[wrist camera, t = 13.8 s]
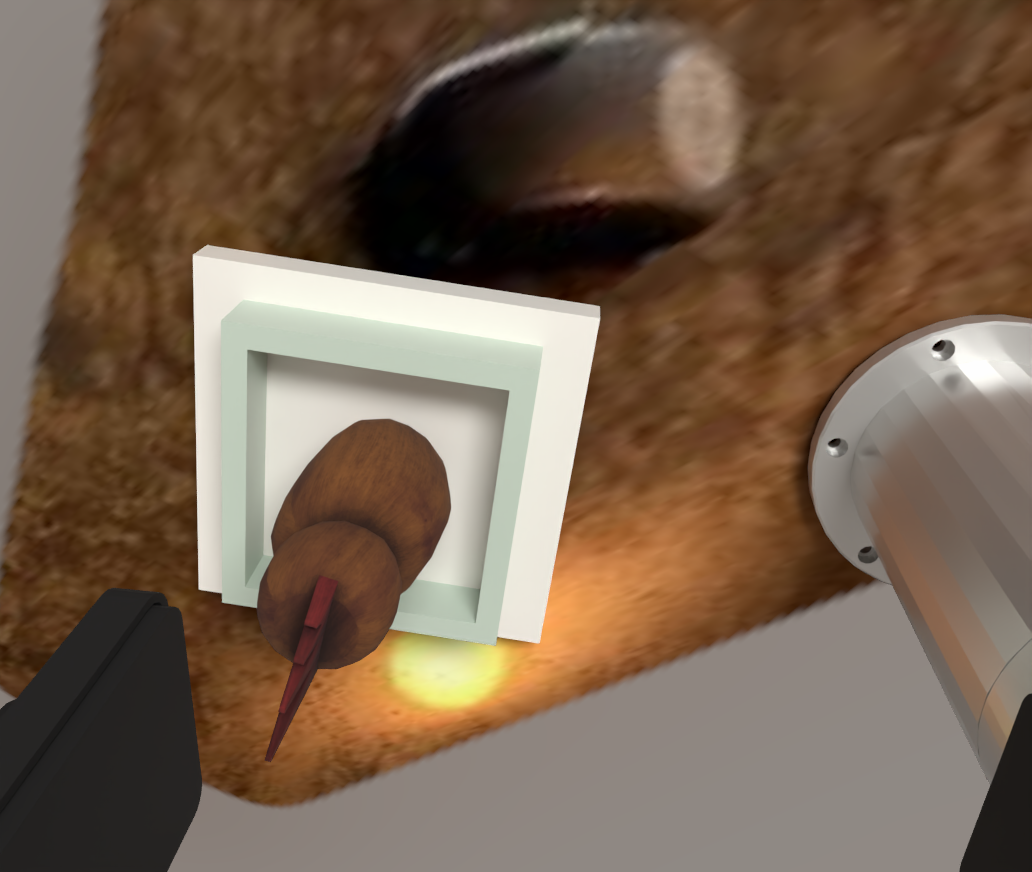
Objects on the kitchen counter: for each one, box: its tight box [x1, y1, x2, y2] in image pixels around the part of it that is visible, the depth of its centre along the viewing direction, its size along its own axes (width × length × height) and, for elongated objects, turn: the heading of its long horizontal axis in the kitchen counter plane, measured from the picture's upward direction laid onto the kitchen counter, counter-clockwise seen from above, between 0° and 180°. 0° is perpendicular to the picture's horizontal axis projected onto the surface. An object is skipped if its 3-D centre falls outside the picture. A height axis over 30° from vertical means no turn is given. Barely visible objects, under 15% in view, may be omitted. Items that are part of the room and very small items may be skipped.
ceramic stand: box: [193, 245, 600, 646], centre depth 40 cm, size 16×16×4 cm
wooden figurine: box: [257, 419, 451, 762], centre depth 33 cm, size 7×6×15 cm
